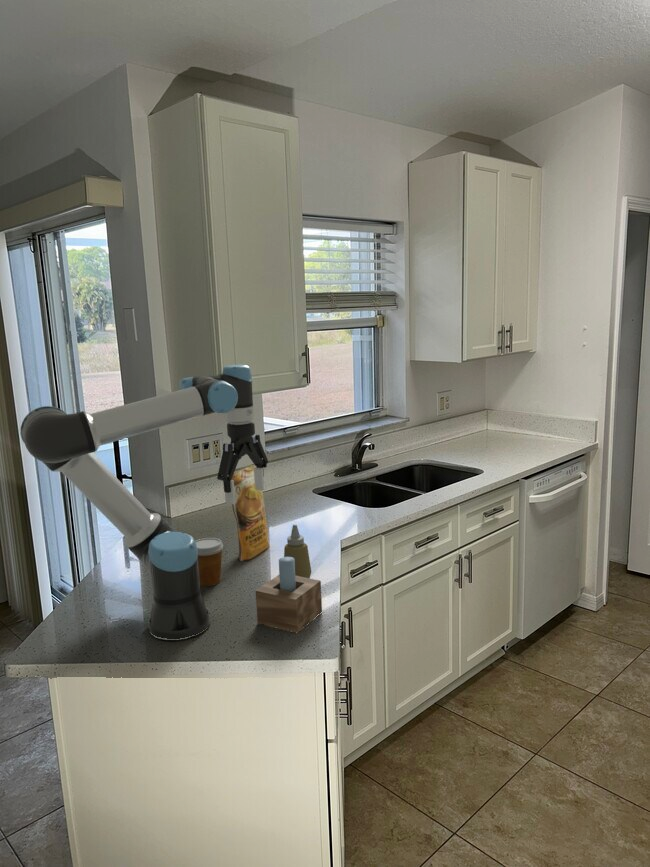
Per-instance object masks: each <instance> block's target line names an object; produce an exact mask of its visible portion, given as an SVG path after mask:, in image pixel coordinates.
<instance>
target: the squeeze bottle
mask: <svg viewBox="0 0 650 867" xmlns="http://www.w3.org/2000/svg"><path fill="white" fill-rule="evenodd" d="M299 531H300V530H299V528H298V525H297V524H293V525H292V529H291V534H290V535H289V536H287V538H286V541H287V544H285V545H284V550H283V551H284V552H283V557H293V558H294V559H295V576H300V577H305V578H310V579H311V575H312V567H311V561H310V553H309V548H308V544H307V543H305V538H304V536H303V535H302V534H300V532H299Z"/></svg>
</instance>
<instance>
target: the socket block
mask: <svg viewBox="0 0 650 867" xmlns="http://www.w3.org/2000/svg"><path fill="white" fill-rule="evenodd" d="M295 580H296V590H295V591H293V592H288V591H283V590H280V576H279V574H278V575H276V576H275V577H273V578H272V579H271V580H269V581H267V582H266V583H265V584H263V585H262V586H260V587H258V588H257V589H255V603H256V617H257V618H256V620H257V621H256V622H257V624H258V623H259V624H258V625H262V624H264V625H263V626H266V625H267V626H266V627H270V626H272V627H271V628H274V627H277V628H280V629H279V630H281V629H284V630H283V631H285V630H288V631H287V632H289V631H292V632H291V633H293V632H297V633H298V632H299V631H300V630H301V629H302V628H303V627H305V626H306V625H307V624H308V623H310V622H311V621H312V620H313V619H314V618H315V617H316V616H317V615H318V614H320V613H321V612H322V613H323V605H322V604H323V603H322V602H323V601H322V582H321V581H322V580H319V579H314V578H311V577H310V578H305V577H300V576H295ZM320 615H321V614H320ZM314 620H315V619H314ZM314 620H313V621H314ZM313 621H312V622H313ZM312 622H311V623H312ZM308 625H309V624H308ZM308 625H307V626H308ZM307 626H306V627H307ZM306 627H305V628H306ZM277 628H276V629H277ZM302 630H303V629H302ZM302 630H301V631H302ZM301 631H300V632H301ZM300 632H299V633H300ZM297 633H296V634H297ZM299 633H298V634H299Z"/></svg>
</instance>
